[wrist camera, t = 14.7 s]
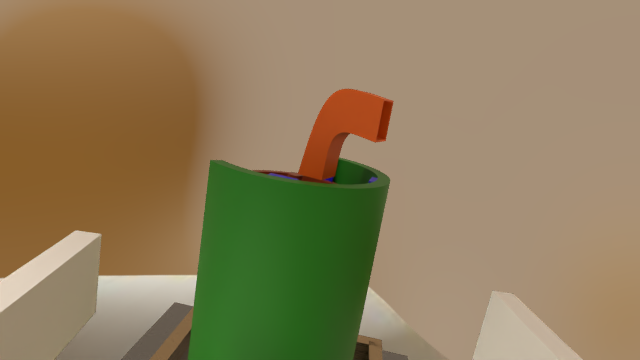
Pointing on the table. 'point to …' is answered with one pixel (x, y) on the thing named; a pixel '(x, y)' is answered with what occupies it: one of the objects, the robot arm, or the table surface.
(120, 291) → the table surface
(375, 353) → the plate
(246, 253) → the green cylindrical holder
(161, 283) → the table surface
